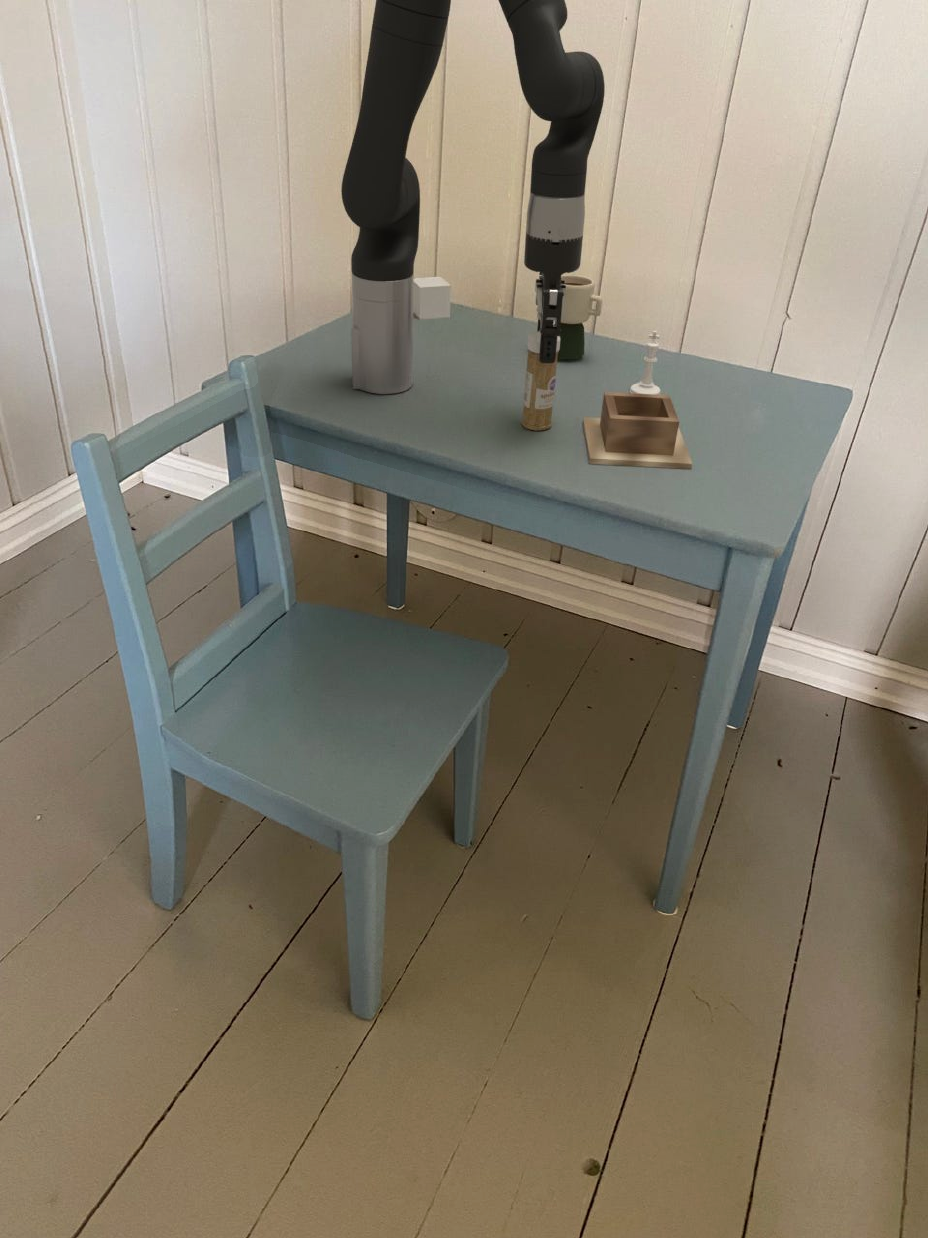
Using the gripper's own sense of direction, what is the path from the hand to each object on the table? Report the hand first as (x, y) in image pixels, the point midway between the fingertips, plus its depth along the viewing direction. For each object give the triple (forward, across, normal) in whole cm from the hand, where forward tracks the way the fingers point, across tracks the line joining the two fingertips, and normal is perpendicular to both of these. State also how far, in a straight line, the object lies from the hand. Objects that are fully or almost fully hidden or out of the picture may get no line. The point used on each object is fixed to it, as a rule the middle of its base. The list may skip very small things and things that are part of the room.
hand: (545, 351), depth 131 cm
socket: (+11, +5, +13) cm, 18 cm away
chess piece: (+12, -15, +18) cm, 26 cm away
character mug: (+11, -30, +6) cm, 32 cm away
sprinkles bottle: (+11, 0, -1) cm, 11 cm away
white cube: (+11, -50, -19) cm, 55 cm away
